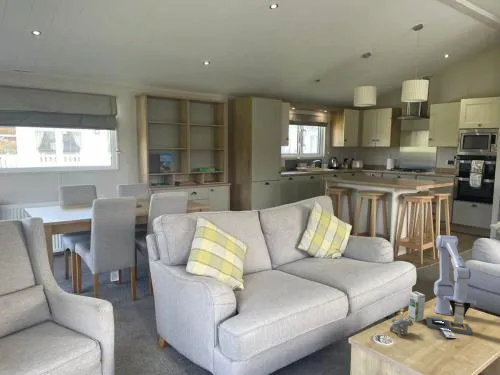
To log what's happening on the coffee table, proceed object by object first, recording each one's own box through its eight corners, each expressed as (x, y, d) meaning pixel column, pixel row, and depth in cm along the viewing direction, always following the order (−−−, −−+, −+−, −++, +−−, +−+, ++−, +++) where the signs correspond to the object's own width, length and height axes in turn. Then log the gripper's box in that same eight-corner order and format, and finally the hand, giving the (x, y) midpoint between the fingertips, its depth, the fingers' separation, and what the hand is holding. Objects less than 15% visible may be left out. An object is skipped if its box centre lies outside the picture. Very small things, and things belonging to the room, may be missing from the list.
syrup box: (407, 317, 208) (409, 292, 206) (415, 316, 210) (417, 290, 209) (415, 322, 203) (417, 296, 201) (423, 320, 205) (425, 294, 204)
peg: (453, 318, 199) (454, 303, 198) (461, 319, 197) (463, 304, 196) (454, 321, 195) (455, 306, 194) (462, 322, 193) (464, 307, 193)
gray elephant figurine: (386, 332, 192) (387, 318, 190) (399, 324, 199) (400, 311, 198) (403, 340, 184) (404, 325, 183) (416, 332, 192) (417, 317, 190)
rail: (425, 319, 207) (426, 316, 206) (467, 326, 199) (467, 323, 199) (427, 327, 197) (427, 324, 197) (470, 335, 190) (471, 332, 190)
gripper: (445, 290, 193) (443, 316, 195) (478, 295, 188) (475, 321, 189) (444, 286, 200) (442, 310, 201) (475, 290, 195) (473, 315, 196)
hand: (458, 315), depth 196 cm, fingers closed on peg, 4 cm apart
